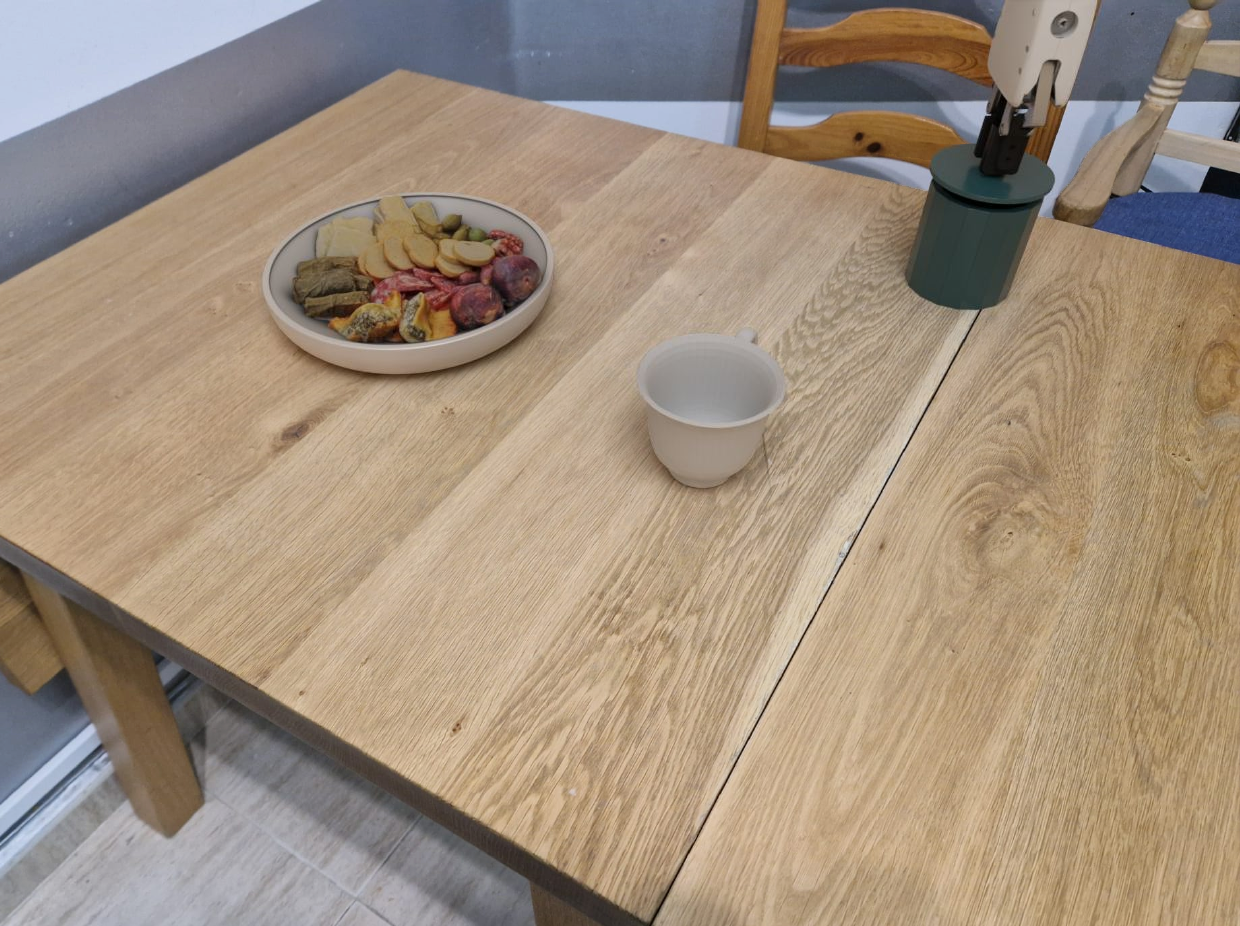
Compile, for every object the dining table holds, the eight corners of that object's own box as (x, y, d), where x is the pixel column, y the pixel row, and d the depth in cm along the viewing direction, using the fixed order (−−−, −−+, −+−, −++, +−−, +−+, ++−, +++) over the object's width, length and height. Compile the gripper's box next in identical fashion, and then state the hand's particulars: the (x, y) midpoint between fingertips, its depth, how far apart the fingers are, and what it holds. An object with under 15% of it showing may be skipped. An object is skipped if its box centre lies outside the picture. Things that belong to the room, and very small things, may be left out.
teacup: (801, 430, 86) (821, 340, 78) (736, 535, 77) (751, 444, 70) (682, 388, 90) (690, 300, 83) (607, 483, 81) (609, 393, 74)
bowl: (216, 358, 94) (193, 291, 89) (356, 214, 114) (344, 152, 108) (493, 417, 87) (486, 348, 82) (591, 253, 107) (591, 188, 101)
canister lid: (1031, 154, 96) (1051, 99, 92) (1067, 211, 88) (1090, 153, 84) (917, 152, 97) (931, 98, 93) (941, 209, 89) (958, 152, 85)
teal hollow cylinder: (992, 260, 105) (1027, 161, 96) (1018, 315, 97) (1058, 213, 89) (896, 258, 105) (922, 160, 97) (915, 313, 98) (945, 212, 90)
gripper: (1146, -13, 72) (1059, 207, 86) (1078, -74, 84) (1010, 128, 97) (1046, -13, 73) (975, 206, 86) (992, -74, 84) (936, 128, 97)
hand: (994, 163), depth 91 cm, fingers closed on canister lid, 2 cm apart
